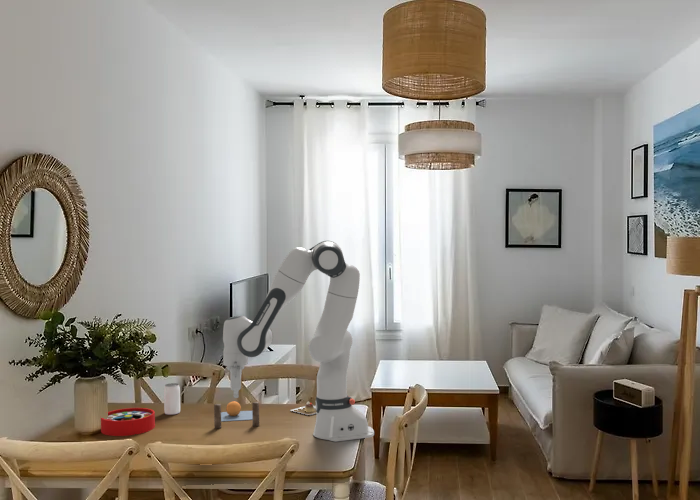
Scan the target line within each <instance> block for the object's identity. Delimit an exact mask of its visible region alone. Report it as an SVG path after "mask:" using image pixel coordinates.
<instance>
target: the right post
mask: <svg viewBox="0 0 700 500" xmlns="http://www.w3.org/2000/svg"><path fill="white" fill-rule="evenodd" d="M251 406H252V408H251V409H252V410H251V411H252V416H253V420H252V426H253V427H256V428H257V427H260V402H259V401H253V402H252V404H251Z"/></svg>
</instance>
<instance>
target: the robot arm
mask: <svg viewBox="0 0 700 500" xmlns="http://www.w3.org/2000/svg"><path fill="white" fill-rule="evenodd" d="M317 270H318V271H319V272H321V273H323V274H324V275H326V276H328V277H329V285H328V290H327V293H326V298H325V302H324V306H323V311H322V313H321V316H320V319H319V321H318V324H317V325H316V328H315V330H314V334H313V335H312V336H313V337H311V340H310V342H309V344H308V353H309V355H310V357H311V358H312V359H313V360H314V361H316V362H318V363H320V364H319V368H318V371H317V374H316V396H315V406H316V408H315V411H316V412H315V413H317V414H316V415H315V416H316V417H315V425H314V429H313V433H312V435H313V437H315V438H317V439H321V440H327V441H331V442H344V441H352V440H359V439H361V440H362V439H367V438H369V439H370V438H372V437H374V436H375V430H374V429H373V427H371V426H369V424H368V419H367V417H366V415H365V414H364V413H363V412H361V411H360V410H359V409H357V408H356V407H354V405H355V404H356V400H355V399H354V398H352V397H351V396H350V395H348V394H347V393H348V392H347V391H348V387H347V384H348V383H347V382H348V381H347V378H348V377H347V376H348V368H349V363H350V362H349V360H350V355H351V354H350V353H351V348H352V345H353V337H352V336H353V335H352V334H351V333H350V332H349V330H348V328H349V325H350V323H351V321H352V319H353V317H354V312H355V308H356V305H357V300H358V295H359V289H360V280H361V279H360V278H361V277H360V276H361V274H360V271H359V270H358V268H357V267H356V266H354V265H352V264H349V263H346V261H345V258H344V253H343V250H342V248H341V247H340V245H339V244H337V243H336V242H334V241H331V240H324V241H320V242H318V243H317V244H316V245H315V244H314V246H312V247H311V248H309V249H306V248H304V247H299V246H298V247H294V248H292V249H291V250H289V252H288V253H287V255H286V257H285V258H284V259H283V261H282V262H281V263H280V266H279V267H278V269H277V270H276V273H275V275H274V277H273V279H272V282H271V284H270V287H269V289H268V292H267V294H266V297H265V300H263V303H262V305H261V306H260V309H259V310H258V311H257V313H256V315H255V317H254V319H253V321H252V320H250V319H248V317H247V316H244V315H235V316H232V317H231V316H230V317H229V318H226V320H224V323H223V329H222V330H223V331H222V333H223V334H222V342H223V345H224V347H223V351H222V352H223V353H222V356H223V357H222V358H223V366H225V367H226V369H227V370H228V371H229V372H230V377H229V378H230V379H229V380H230V381H229V382H230V390H231V391H232V392H233V398H234V399H238V398H239V397H240V396H239V391H240V390H241V389H242V374H243V373H242V372H243V370H244V369H245V366H247V365H248V358H257V356H260V355H261V354H262V353H263V351H265V350H266V349H268V348H269V347H270V346H271V345H272V343H273V340H274V333H273V331H272V329H271V327H272V325H273V323H274V322H275V320H276V317H278V314H279V313H280V312H281V310H282V309H283V308H285V306H288V304H289V303H291V302H292V301H293V300H294V299H295V298H296V297H297V296H298V295H299V293H300V292H301V291H302V289H303V288H304V286H305V285H306V282H307V280H308V278H309V276H311V274H312V273H313V272H314V271H317Z"/></svg>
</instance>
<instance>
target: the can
mask: <svg viewBox="0 0 700 500" xmlns="http://www.w3.org/2000/svg"><path fill="white" fill-rule="evenodd" d="M179 384H180V383H175V382H173V383H166V384H165V385H164V388H163V396H164V397H163V402H164V403H163V404H164V405H163V406H164V407H163V409H164V411H163V412H164V414H165V415H168V416H172V415H173V416H174V415H178V414H180V412H181V388H180V385H179Z"/></svg>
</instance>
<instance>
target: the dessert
mask: <svg viewBox="0 0 700 500" xmlns="http://www.w3.org/2000/svg"><path fill="white" fill-rule="evenodd" d="M303 408H305V409H303ZM298 409H301V410H303V412H304V411H306V412H304V413H303V412H299V410H298ZM294 410H297V411H294ZM289 411H291V412H292V411H293V413H296V412H297V414H300V413H301V414H300V415H304V414H305V415H304V416H308V415H310V416H313V415H317V412H315V411H316V405H314V404H313V402H310V401H309V400H308V401H307V402H306V404H305V405H304V406H301V407H296V408H293V409H290V410H289ZM308 413H309V414H308Z"/></svg>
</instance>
